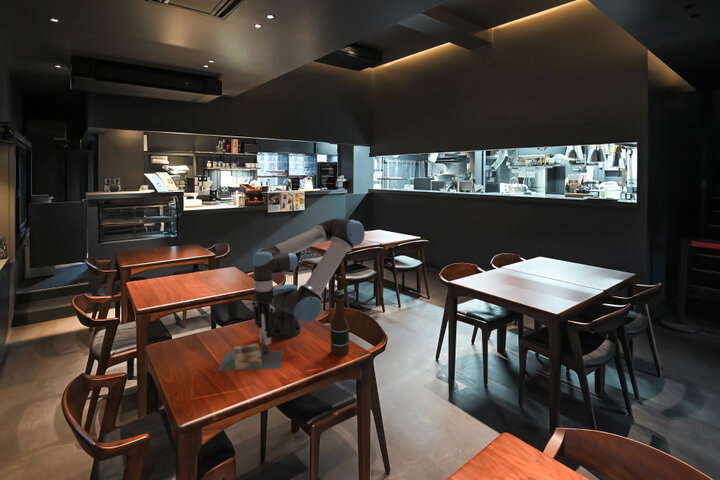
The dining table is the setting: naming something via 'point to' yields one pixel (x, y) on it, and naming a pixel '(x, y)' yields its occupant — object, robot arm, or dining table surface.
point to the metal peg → (265, 347)
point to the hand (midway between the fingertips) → (265, 343)
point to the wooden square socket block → (247, 356)
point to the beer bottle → (339, 330)
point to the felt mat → (268, 362)
